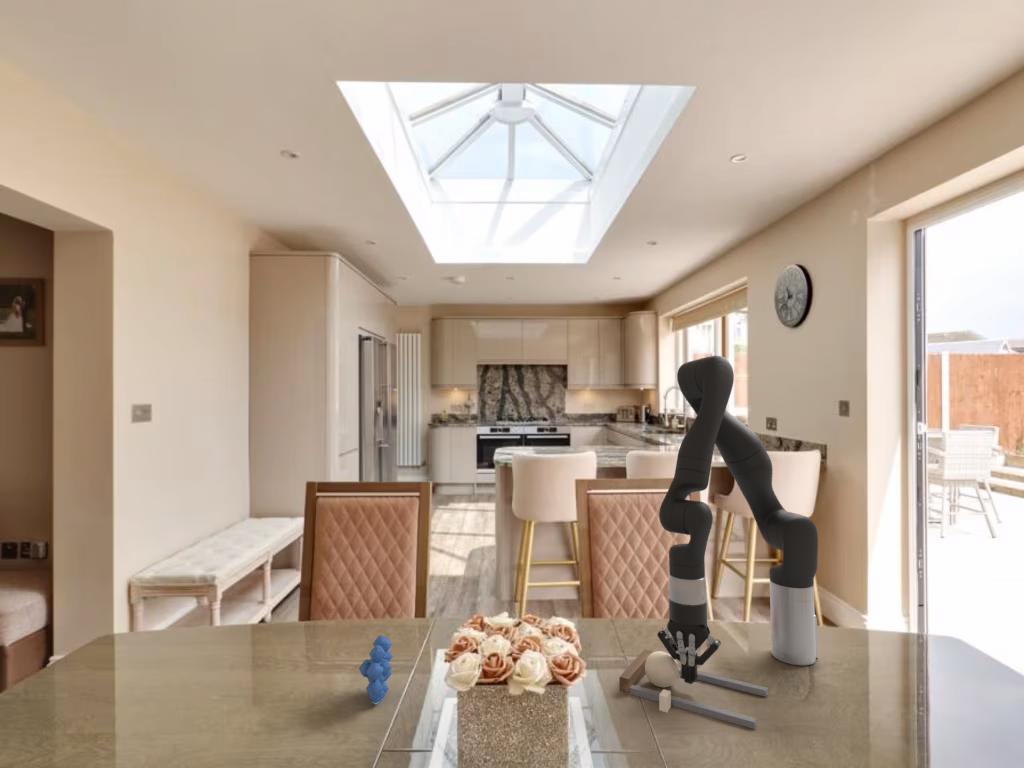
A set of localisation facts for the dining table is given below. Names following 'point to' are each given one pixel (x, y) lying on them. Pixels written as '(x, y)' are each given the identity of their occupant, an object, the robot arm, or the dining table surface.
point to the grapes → (377, 668)
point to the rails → (708, 709)
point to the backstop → (634, 672)
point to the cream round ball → (662, 669)
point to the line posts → (665, 700)
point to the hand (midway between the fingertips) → (689, 681)
